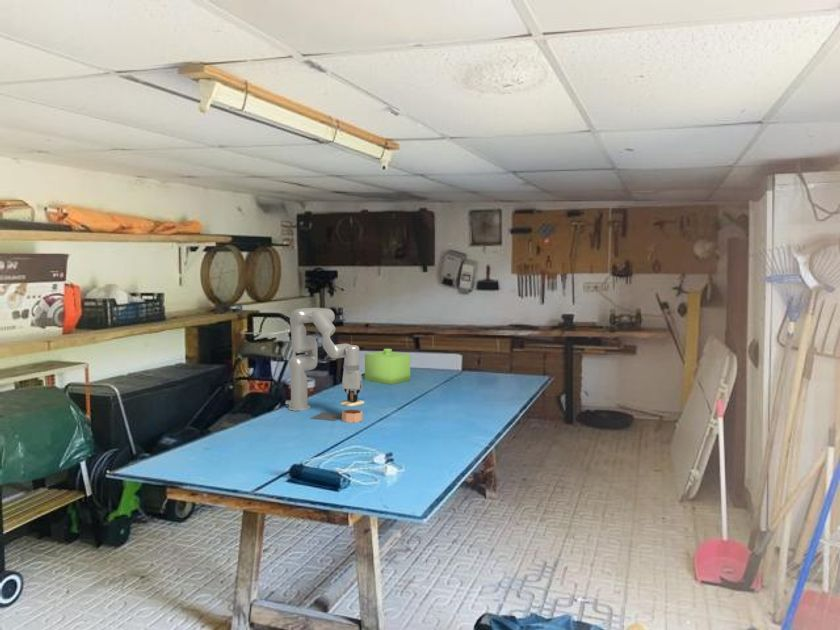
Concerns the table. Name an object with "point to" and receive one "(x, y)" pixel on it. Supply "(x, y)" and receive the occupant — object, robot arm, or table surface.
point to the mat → (327, 416)
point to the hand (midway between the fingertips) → (352, 400)
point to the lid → (352, 401)
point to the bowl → (352, 416)
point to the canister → (387, 367)
